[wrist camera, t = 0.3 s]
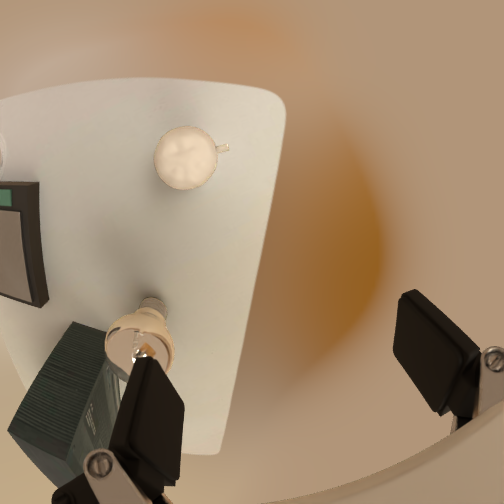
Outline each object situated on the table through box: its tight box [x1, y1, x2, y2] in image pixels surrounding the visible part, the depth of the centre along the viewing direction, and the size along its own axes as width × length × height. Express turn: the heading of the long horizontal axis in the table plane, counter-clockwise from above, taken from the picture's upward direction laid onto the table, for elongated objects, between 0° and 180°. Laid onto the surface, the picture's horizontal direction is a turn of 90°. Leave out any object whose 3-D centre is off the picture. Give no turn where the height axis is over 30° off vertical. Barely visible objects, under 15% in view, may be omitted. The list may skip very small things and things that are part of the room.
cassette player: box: [7, 322, 121, 488], centre depth 26 cm, size 29×7×20 cm, turn 164°
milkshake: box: [154, 126, 229, 190], centre depth 21 cm, size 4×5×10 cm
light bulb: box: [104, 297, 175, 383], centre depth 25 cm, size 7×7×12 cm
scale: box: [0, 182, 49, 308], centre depth 24 cm, size 16×12×3 cm
